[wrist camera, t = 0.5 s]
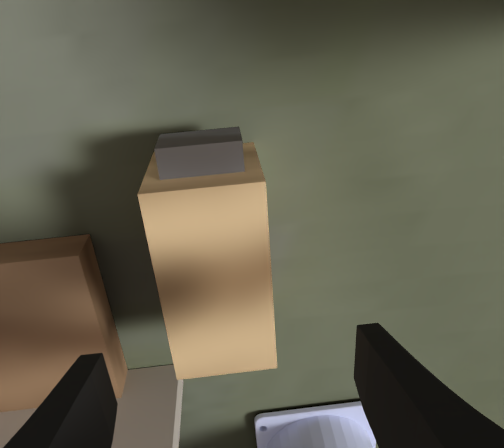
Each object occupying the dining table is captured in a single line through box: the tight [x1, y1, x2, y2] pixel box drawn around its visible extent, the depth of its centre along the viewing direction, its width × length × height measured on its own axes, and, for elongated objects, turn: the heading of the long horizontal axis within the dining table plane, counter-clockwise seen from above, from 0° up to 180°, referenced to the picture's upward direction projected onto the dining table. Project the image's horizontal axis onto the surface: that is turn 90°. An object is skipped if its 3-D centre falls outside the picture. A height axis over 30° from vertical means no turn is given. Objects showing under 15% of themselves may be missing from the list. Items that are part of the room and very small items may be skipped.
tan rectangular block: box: [137, 127, 277, 380], centre depth 19 cm, size 10×4×5 cm, turn 4°
